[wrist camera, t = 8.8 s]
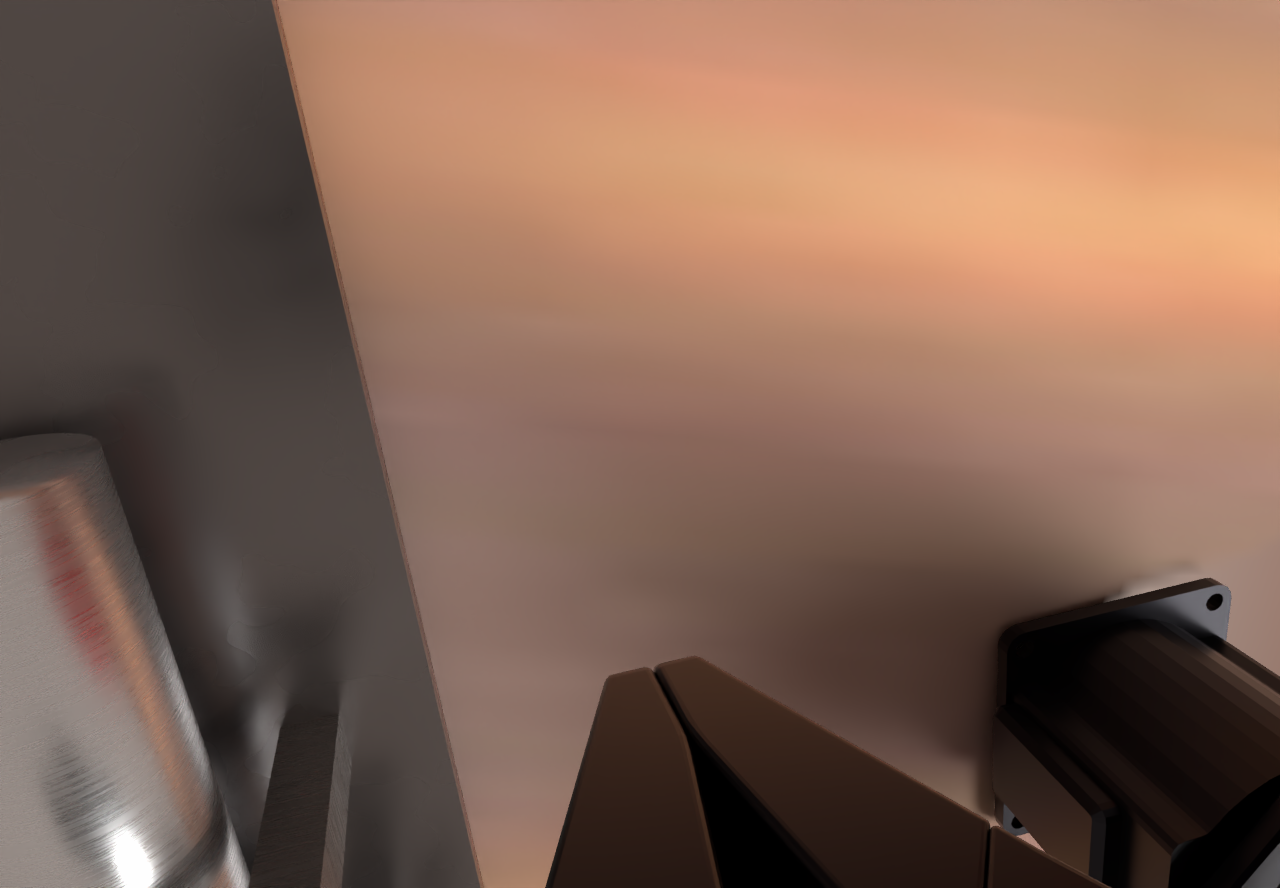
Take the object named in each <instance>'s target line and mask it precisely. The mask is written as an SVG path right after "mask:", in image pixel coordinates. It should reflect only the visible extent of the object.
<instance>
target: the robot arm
mask: <svg viewBox="0 0 1280 888" xmlns="http://www.w3.org/2000/svg"><path fill="white" fill-rule="evenodd" d="M1230 604H1231V592H1230V590H1229V588H1228V587H1226V586H1224V585H1223V584H1221V583H1220V582H1218V581H1216V580H1214V579H1212V578H1204V579H1200V580H1196V581H1192V582H1188V583H1184V584H1180V585H1176V586H1172V587H1167V588H1163V589H1159V590H1155V591H1151V592H1147V593H1143V594H1139V595H1135V596H1131V597H1127V598H1123V599H1118V600H1114V601H1110V602H1106V603H1102V604H1098V605H1094V606H1090V607H1086V608H1082V609H1078V610H1074V611H1070V612H1065V613H1061V614H1057V615H1053V616H1049V617H1045V618H1041V619H1037V620H1033V621H1029V622H1025V623H1021V624H1017V625H1014V626H1012V627H1009V628H1008V629H1007V630H1006V631H1005V632H1004V633H1003V634H1002V636H1001V637H1000V639H999V644H998V675H997V709H996V712H995V714H994V721H993V780H992V787H993V790H994V792H995V818H996V821H997V823H998V824H999V825H1000V826H1001V827H1002V828H1001V827H999V826H993V827H991V829H990V824H989V822H988V821H987V820H986V819H984V818H983V817H981V816H979V815H977V814H976V813H974V812H972V811H970V810H968V809H967V808H965V807H963V806H961V805H960V804H958V803H956V802H954V801H953V800H951V799H949V798H947V797H946V796H944V795H942V794H940V793H939V792H937V791H935V790H933V789H931V788H930V787H928V786H926V785H924V784H923V783H921V782H919V781H917V780H916V779H914V778H912V777H910V776H909V775H907V774H905V773H903V772H902V771H900V770H898V769H896V768H894V767H893V766H891V765H889V764H887V763H886V762H884V761H882V760H880V759H879V758H877V757H875V756H873V755H872V754H870V753H868V752H866V751H865V750H863V749H861V748H859V747H857V746H856V745H854V744H852V743H850V742H849V741H847V740H845V739H843V738H842V737H840V736H838V735H836V734H835V733H833V732H831V731H829V730H827V729H826V728H824V727H822V726H820V725H819V724H817V723H815V722H813V721H812V720H810V719H808V718H806V717H805V716H803V715H801V714H799V713H798V712H796V711H794V710H792V709H790V708H789V707H787V706H785V705H783V704H782V703H780V702H778V701H776V700H775V699H773V698H771V697H769V696H768V695H766V694H764V693H762V692H761V691H759V690H757V689H755V688H753V687H752V686H750V685H748V684H746V683H745V682H743V681H741V680H739V679H738V678H736V677H734V676H732V675H731V674H729V673H727V672H725V671H724V670H722V669H720V668H718V667H716V666H715V665H713V664H711V663H709V662H708V661H706V660H704V659H702V658H700V657H697V656H691V657H686V658H682V659H678V660H674V661H669V662H665V663H661V664H659V665H657V666H656V667H655V669H654V672H653V671H652V670H651V669H650V668H645V667H643V668H639V669H635V670H630V671H626V672H622V673H617V674H613V675H610V676H609V677H608V678H607V679H606V681H605V683H604V686H603V690H602V693H601V697H600V700H599V704H598V707H597V710H596V714H595V717H594V721H593V724H592V728H591V731H590V735H589V738H588V742H587V745H586V749H585V752H584V756H583V759H582V762H581V766H580V769H579V773H578V776H577V780H576V783H575V787H574V790H573V794H572V797H571V801H570V804H569V808H568V811H567V814H566V818H565V821H564V825H563V828H562V832H561V835H560V839H559V842H558V846H557V849H556V853H555V856H554V860H553V863H552V866H551V870H550V873H549V877H548V880H547V884H546V887H545V888H1280V676H1278V675H1277V674H1275V673H1273V672H1272V671H1270V670H1269V669H1267V668H1266V667H1264V666H1263V665H1261V664H1260V663H1258V662H1257V661H1255V660H1254V659H1252V658H1251V657H1249V656H1248V655H1246V654H1245V653H1243V652H1242V651H1240V650H1239V649H1237V648H1235V647H1234V646H1233V645H1231V644H1230V643H1228V642H1226V638H1227V630H1228V621H1229V613H1230ZM1022 642H1024V644H1023V645H1022V646H1021V647H1020V648H1019V649H1017V647H1018V646H1019V644H1020V643H1022ZM1016 649H1017V650H1016ZM1026 833H1030V834H1031V836H1032V837H1033V838H1034V839H1035V840H1036V841H1037V843H1038V844H1039V845H1040V846H1041V847H1042V848H1043V850H1044V851H1045V852H1046V853H1045V852H1044V851H1042V850H1040V849H1038V848H1036V847H1034V846H1033V845H1031V844H1029V843H1027V842H1026V841H1024V840H1022V839H1020V838H1019V837H1017V836H1018V835H1022V834H1026Z"/></svg>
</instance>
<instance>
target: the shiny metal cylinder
mask: <svg viewBox="0 0 1280 888" xmlns="http://www.w3.org/2000/svg"><path fill="white" fill-rule="evenodd" d="M250 877H251V876H250V873H249V870H248V868H247V865H246V862H245V859H244V856H243V853H242V850H241V847H240V844H239V842H238V839H237V836H236V833H235V830H234V827H233V824H232V821H231V819H230V816H229V813H228V810H227V807H226V804H225V801H224V798H223V796H222V793H221V790H220V787H219V784H218V781H217V778H216V775H215V772H214V770H213V767H212V764H211V761H210V758H209V755H208V752H207V749H206V747H205V744H204V741H203V738H202V735H201V732H200V729H199V726H198V723H197V721H196V718H195V715H194V712H193V709H192V706H191V703H190V700H189V698H188V695H187V692H186V689H185V686H184V683H183V680H182V677H181V675H180V672H179V669H178V666H177V663H176V660H175V657H174V654H173V651H172V649H171V646H170V643H169V640H168V637H167V634H166V631H165V628H164V626H163V623H162V620H161V617H160V614H159V611H158V608H157V605H156V602H155V600H154V597H153V594H152V591H151V588H150V585H149V582H148V579H147V577H146V574H145V571H144V568H143V565H142V562H141V559H140V556H139V554H138V551H137V548H136V545H135V542H134V539H133V536H132V533H131V530H130V528H129V525H128V522H127V519H126V516H125V513H124V510H123V507H122V505H121V502H120V499H119V496H118V493H117V490H116V487H115V484H114V482H113V479H112V476H111V473H110V470H109V467H108V464H107V461H106V458H105V456H104V453H103V450H102V447H101V444H100V442H99V441H98V440H97V439H96V438H94V437H92V436H89V435H85V434H77V433H50V434H38V435H30V436H22V437H16V438H10V439H4V440H0V888H248V887H249V882H250Z"/></svg>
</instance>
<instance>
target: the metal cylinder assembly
mask: <svg viewBox="0 0 1280 888" xmlns="http://www.w3.org/2000/svg"><path fill="white" fill-rule="evenodd" d="M50 433H77V434H85V435H89V436H92V437H94V438H96V439H97V440H98V441H99V442H100V444H101V447H102V450H103V453H104V456H105V458H106V461H107V464H108V467H109V470H110V473H111V476H112V479H113V482H114V484H115V487H116V490H117V493H118V496H119V499H120V502H121V505H122V507H123V510H124V513H125V516H126V519H127V522H128V525H129V528H130V530H131V533H132V536H133V539H134V542H135V545H136V548H137V551H138V554H139V556H140V559H141V562H142V565H143V568H144V571H145V574H146V577H147V579H148V582H149V585H150V588H151V591H152V594H153V597H154V600H155V602H156V605H157V608H158V611H159V614H160V617H161V620H162V623H163V626H164V628H165V631H166V634H167V637H168V640H169V643H170V646H171V649H172V651H173V654H174V657H175V660H176V663H177V666H178V669H179V672H180V675H181V677H182V680H183V683H184V686H185V689H186V692H187V695H188V698H189V700H190V703H191V706H192V709H193V712H194V715H195V718H196V721H197V723H198V726H199V729H200V732H201V735H202V738H203V741H204V744H205V747H206V749H207V752H208V755H209V758H210V761H211V764H212V767H213V770H214V772H215V775H216V778H217V781H218V784H219V787H220V790H221V793H222V796H223V798H224V801H225V804H226V807H227V810H228V813H229V816H230V819H231V821H232V824H233V827H234V830H235V833H236V836H237V839H238V842H239V844H240V847H241V850H242V853H243V856H244V859H245V862H246V865H247V868H248V870H249V873H250V876H251V877H250V882H249V887H248V888H484V886H483V881H482V877H481V873H480V869H479V864H478V860H477V856H476V852H475V847H474V843H473V839H472V834H471V830H470V826H469V822H468V817H467V813H466V809H465V804H464V800H463V796H462V792H461V787H460V783H459V779H458V775H457V770H456V766H455V762H454V757H453V753H452V749H451V745H450V740H449V736H448V732H447V727H446V723H445V719H444V715H443V710H442V706H441V702H440V697H439V693H438V689H437V685H436V680H435V676H434V672H433V668H432V663H431V659H430V655H429V650H428V646H427V642H426V638H425V633H424V629H423V625H422V620H421V616H420V612H419V608H418V603H417V599H416V595H415V590H414V586H413V582H412V578H411V573H410V569H409V565H408V561H407V556H406V552H405V548H404V543H403V539H402V535H401V531H400V526H399V522H398V518H397V513H396V509H395V505H394V501H393V496H392V492H391V488H390V483H389V479H388V475H387V471H386V466H385V462H384V458H383V454H382V449H381V445H380V441H379V436H378V432H377V428H376V424H375V419H374V415H373V411H372V406H371V402H370V398H369V394H368V389H367V385H366V381H365V376H364V372H363V368H362V364H361V359H360V355H359V351H358V347H357V342H356V338H355V334H354V329H353V325H352V321H351V317H350V312H349V308H348V304H347V299H346V295H345V291H344V287H343V282H342V278H341V274H340V269H339V265H338V261H337V257H336V252H335V248H334V244H333V240H332V235H331V231H330V227H329V222H328V218H327V214H326V210H325V205H324V201H323V197H322V192H321V188H320V184H319V180H318V175H317V171H316V167H315V162H314V158H313V154H312V150H311V145H310V141H309V137H308V133H307V128H306V124H305V120H304V115H303V111H302V107H301V103H300V98H299V94H298V90H297V85H296V81H295V77H294V73H293V68H292V64H291V60H290V55H289V51H288V47H287V43H286V38H285V34H284V30H283V26H282V21H281V17H280V13H279V8H278V4H277V0H0V440H4V439H10V438H16V437H22V436H30V435H38V434H50Z"/></svg>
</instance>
